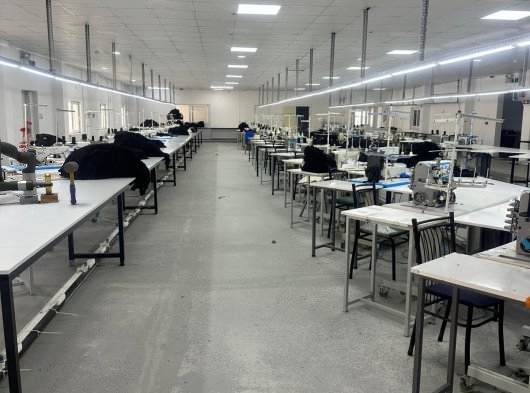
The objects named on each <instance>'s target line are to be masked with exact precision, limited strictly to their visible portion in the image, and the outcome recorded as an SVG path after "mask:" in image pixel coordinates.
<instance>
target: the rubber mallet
mask: <svg viewBox="0 0 530 393" xmlns="http://www.w3.org/2000/svg"><path fill="white" fill-rule="evenodd" d="M78 169H79V164H78V163H77V162H76V161H68V162H66V163H65V164H64V165H63V171H64V172H66V173H67V174H69V194H70V204H71V205H72V206H74V205H76V204H77V202H78V201H77V199H76V198H77V196H76V190H77V188H76V184H75V175H74V173H75V172H76V171H78Z"/></svg>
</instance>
